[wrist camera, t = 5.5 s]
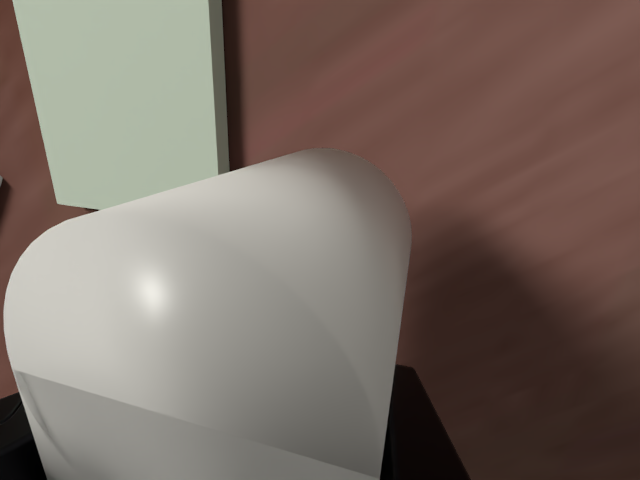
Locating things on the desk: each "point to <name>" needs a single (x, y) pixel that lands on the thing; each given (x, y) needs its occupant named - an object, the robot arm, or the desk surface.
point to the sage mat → (127, 94)
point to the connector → (217, 327)
